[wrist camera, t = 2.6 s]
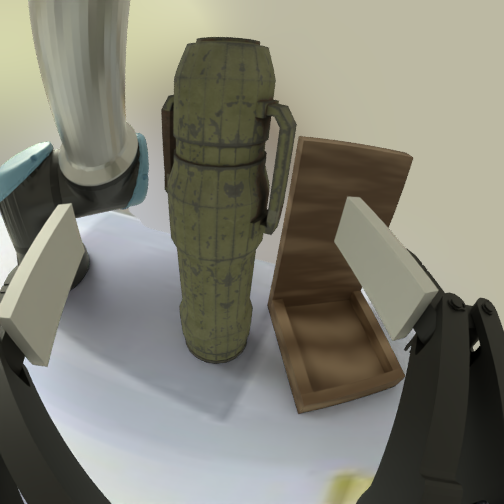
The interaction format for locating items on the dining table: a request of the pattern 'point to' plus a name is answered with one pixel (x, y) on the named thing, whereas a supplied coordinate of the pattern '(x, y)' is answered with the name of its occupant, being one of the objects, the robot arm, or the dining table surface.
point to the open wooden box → (332, 275)
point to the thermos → (222, 184)
